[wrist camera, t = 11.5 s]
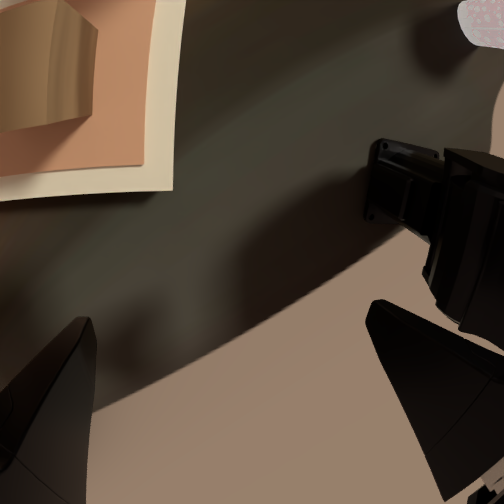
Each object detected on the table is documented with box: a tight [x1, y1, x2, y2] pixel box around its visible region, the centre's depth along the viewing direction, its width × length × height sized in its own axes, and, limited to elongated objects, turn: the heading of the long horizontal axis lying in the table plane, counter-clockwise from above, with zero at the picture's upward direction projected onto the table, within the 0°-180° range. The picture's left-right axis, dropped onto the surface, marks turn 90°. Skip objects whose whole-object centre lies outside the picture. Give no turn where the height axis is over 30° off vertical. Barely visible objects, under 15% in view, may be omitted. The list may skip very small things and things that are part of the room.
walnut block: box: [0, 0, 98, 133], centre depth 9 cm, size 4×4×6 cm
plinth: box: [0, 0, 186, 201], centre depth 12 cm, size 13×13×3 cm
